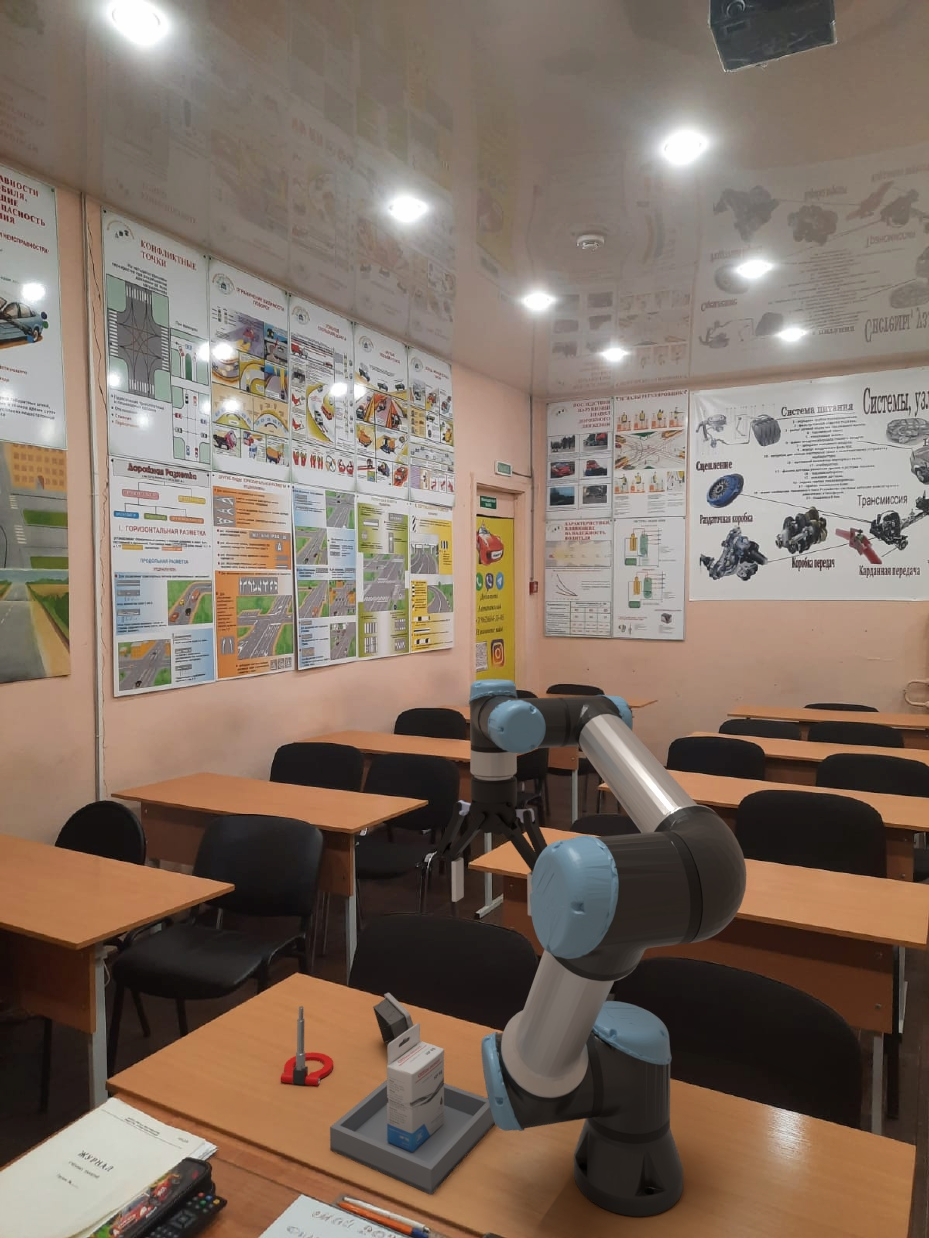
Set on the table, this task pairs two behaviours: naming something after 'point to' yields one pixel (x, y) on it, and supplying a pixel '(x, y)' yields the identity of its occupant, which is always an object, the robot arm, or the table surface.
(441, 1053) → the ink box
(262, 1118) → the table surface
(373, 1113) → the tray
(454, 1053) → the table surface
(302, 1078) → the tow hook
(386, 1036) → the electrical switch
